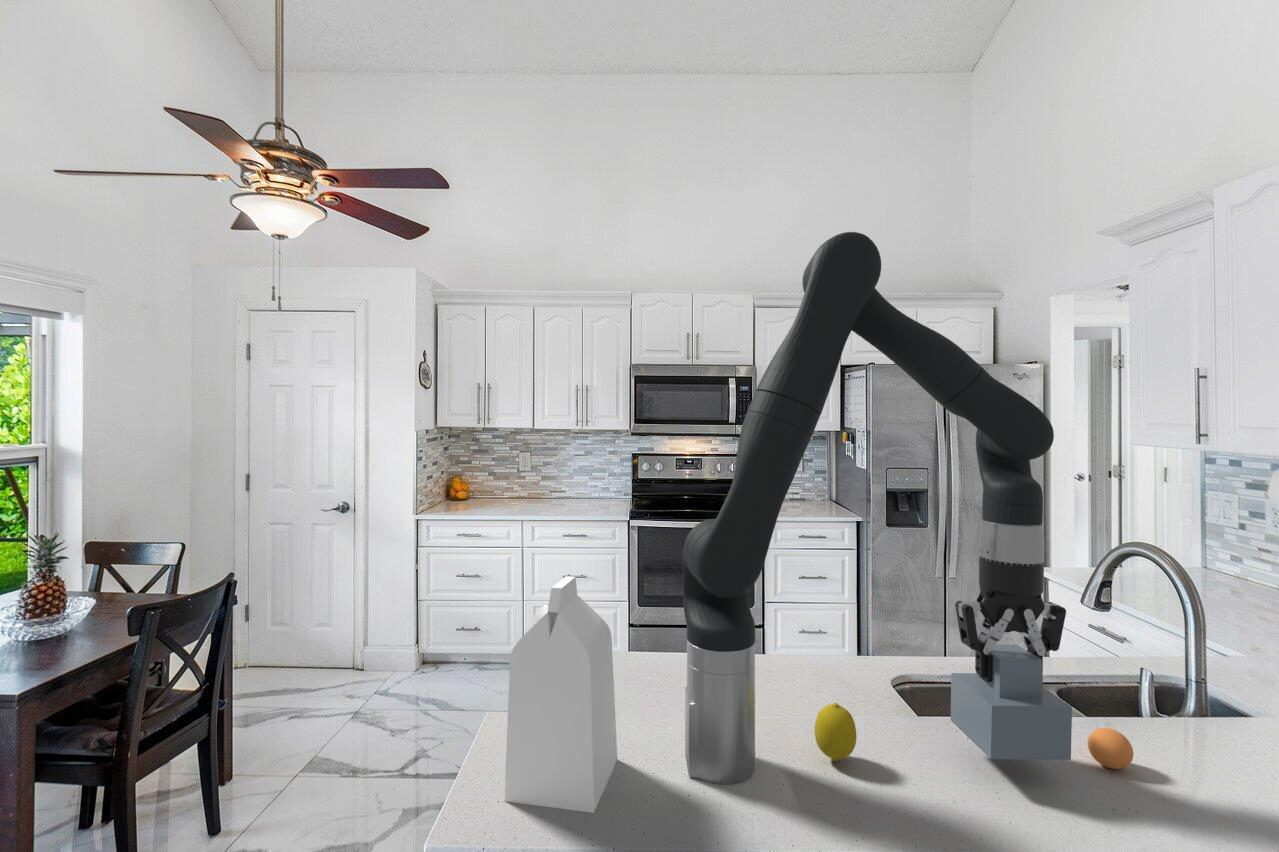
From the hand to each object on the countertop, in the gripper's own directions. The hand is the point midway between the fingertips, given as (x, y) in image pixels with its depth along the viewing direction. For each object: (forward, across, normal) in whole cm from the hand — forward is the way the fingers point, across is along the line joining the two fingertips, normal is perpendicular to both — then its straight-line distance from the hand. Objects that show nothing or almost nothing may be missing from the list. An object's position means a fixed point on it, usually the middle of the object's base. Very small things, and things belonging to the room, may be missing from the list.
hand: (1008, 679), depth 84 cm
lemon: (+13, -23, +2) cm, 26 cm away
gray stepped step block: (+8, 0, 0) cm, 8 cm away
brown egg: (+9, +14, 0) cm, 17 cm away
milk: (+13, -60, -2) cm, 61 cm away
